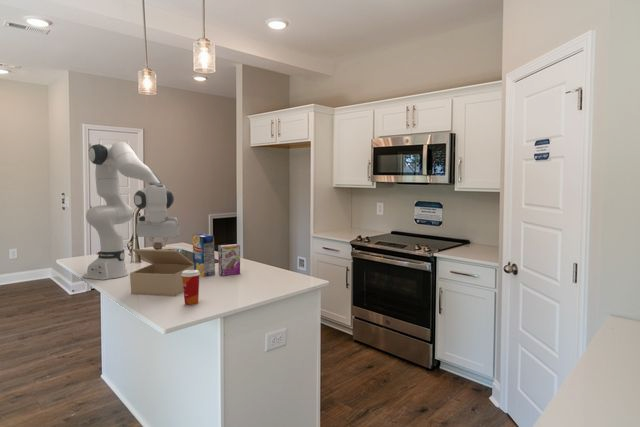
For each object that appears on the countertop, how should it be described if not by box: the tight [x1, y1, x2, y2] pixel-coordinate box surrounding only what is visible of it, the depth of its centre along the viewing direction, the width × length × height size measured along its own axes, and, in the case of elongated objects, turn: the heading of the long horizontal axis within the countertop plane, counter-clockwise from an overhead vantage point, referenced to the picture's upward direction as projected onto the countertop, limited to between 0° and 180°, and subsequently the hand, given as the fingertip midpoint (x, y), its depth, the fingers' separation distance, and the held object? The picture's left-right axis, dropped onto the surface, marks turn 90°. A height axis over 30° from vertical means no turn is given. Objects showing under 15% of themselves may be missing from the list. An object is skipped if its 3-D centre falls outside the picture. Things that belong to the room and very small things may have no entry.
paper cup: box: [181, 270, 200, 306], centre depth 180 cm, size 8×8×14 cm
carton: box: [129, 263, 194, 297], centre depth 202 cm, size 22×20×10 cm
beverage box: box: [191, 233, 216, 278], centre depth 231 cm, size 7×11×22 cm, turn 47°
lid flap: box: [132, 241, 194, 265], centre depth 203 cm, size 22×20×5 cm
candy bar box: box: [217, 243, 241, 277], centre depth 231 cm, size 11×5×16 cm, turn 124°
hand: (158, 246), depth 197 cm, fingers closed on lid flap, 3 cm apart
